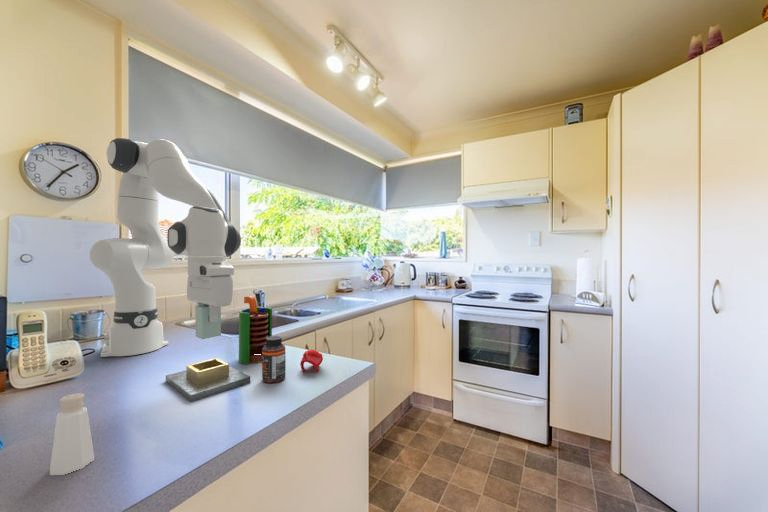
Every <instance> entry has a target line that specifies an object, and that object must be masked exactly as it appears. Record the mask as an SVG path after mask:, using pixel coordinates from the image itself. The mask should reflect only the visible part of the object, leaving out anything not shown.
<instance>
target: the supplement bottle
mask: <svg viewBox="0 0 768 512" xmlns="http://www.w3.org/2000/svg"><path fill="white" fill-rule="evenodd" d="M285 378H286V345H285V344H284V343H283V340H282V336H280V335H272V336H270V337H267V338H266V345H265V346H264V347H263V349H262V362H261V379H262V382H264V383H267V384H273V383H279V382H281V381H283V380H285Z"/></svg>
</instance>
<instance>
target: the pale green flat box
mask: <svg viewBox="0 0 768 512" xmlns="http://www.w3.org/2000/svg"><path fill="white" fill-rule="evenodd" d="M194 307H195V309H194V310H195V314H194V315H195V337H196V338H198V339H201V340H206V339H211V338H214V337H221V336H222V315H221V313H222V311H221V310H222V309H221V308H222V306H221V307H220V310H219V313H218V321H217V322H209V321H208V315H209V314H210V309H209V305H207V304H204V305H199V306H197V305H195V306H194Z"/></svg>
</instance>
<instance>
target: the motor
mask: <svg viewBox="0 0 768 512" xmlns="http://www.w3.org/2000/svg"><path fill="white" fill-rule="evenodd" d="M256 299H257V298H256V297H255V296H253V295H250V296H244V297H243V300H244V301H243V303H244V304H248V305H249V307H248V308H244V309H240V310H239V312H238V313H239V314H238V362H239V363H241V364H243V365H249V364H250V363H249V362H256V363H259V362H258V361H262V349H263V347H264V346H265V345H266V338H267V337H270V336H273V308H271V307H258V306H257V304H258V303H257V300H256ZM254 354H261V355H254Z"/></svg>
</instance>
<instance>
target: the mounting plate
mask: <svg viewBox="0 0 768 512" xmlns="http://www.w3.org/2000/svg"><path fill="white" fill-rule="evenodd" d="M185 367H186V369H185V370H182V371H178V372H174V373H170V374H168V375H167V374H166V375H165V383H167V384H168V385H170V386H171V387H172V388H173V389H174V390H176V391H177V392H178V393H180V395H182V396H184V398H186V399H187V400H188V401H190V403H191V402H194V401H197V400H201V399H204V398H207V397H210V396H213V395H216V394H219V393H222V392H225V391H228V390H230V389H234V388H237V386H238V387H241V386H242V385H243V386H244V385H246V384H249V383H251V376H250V375H248V374H246V373H244V372H242V371H240V370H238V369H236V368H234V367H232V366H231V365H230V364H229V363H228V362H226V361H224V360H222V359H220V358H218V357H215V358H210V359H208V360H207V359H206V360H203V361H200V362H195V363H190V364H187V365H186V366H185Z"/></svg>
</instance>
